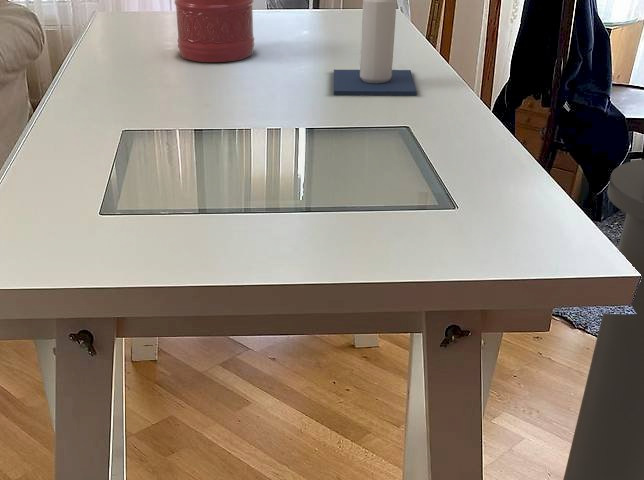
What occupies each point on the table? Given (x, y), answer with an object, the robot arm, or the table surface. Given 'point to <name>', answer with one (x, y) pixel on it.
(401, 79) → the drinks mat
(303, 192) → the table surface
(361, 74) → the beverage can
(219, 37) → the kitchen canister
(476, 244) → the table surface
